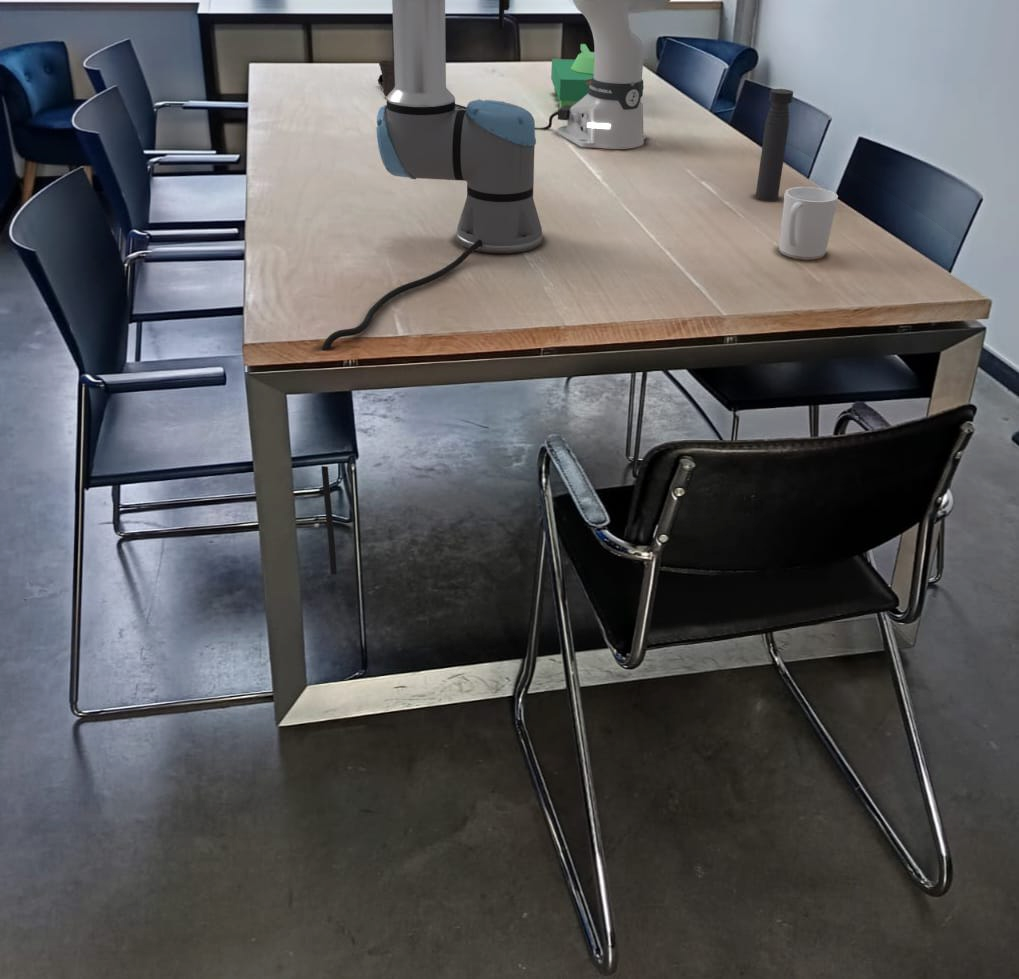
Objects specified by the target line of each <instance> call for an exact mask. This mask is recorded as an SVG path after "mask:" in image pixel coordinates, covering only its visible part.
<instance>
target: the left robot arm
mask: <svg viewBox="0 0 1019 979" xmlns="http://www.w3.org/2000/svg"><path fill="white" fill-rule="evenodd" d="M391 4H392V5H391V6H392V7H391V8H392V9H391V10H392V34H393V36H392V37H393V39H392V40H393V61H394V68H395V87H394V89H393V90H392V91H391V92H390V93H389V94H388V96H386V104H384V105H383V106H381V107H379V109H378V111H377V115H376V138H377V147H378V151H379V156H380V159H381V162H382V164H383V166H384V168H385V170H386V171H387V172H388V173H389V174H390V175H391V176H393V177H400V178H407V179H408V178H409V179H411V180H417V179H422V180H423V179H426V180H442V181H443V180H445V181H461V182H464V181H465V182H466V192H467V193H466V198H465V202H464V205H463V209H462V211H461V214H460V218H459V220H458V224H457V228H456V241H457V243H458V244H459V245H461V246H462V247H464V248H466V250H465V251H463V252H462V254H461V255H459V257H457V258H456V259H455V260H453V261H452V262H451V263H449V264H448V265H446V266H445V267H443V268H442V269H439V270H438V271H436V272H433V273H432V274H430V275H428V276H425V277H422V278H420V279H417V280H414V281H411V282H408V283H405V284H402V285H400V286H398V287H396V288H394V289H392V290H391V291H389V292H387V293H386V294H385V295H383V296H382V297H381V298H380V299H379V300H377V301H376V302H375V303H374V304H373V306H372V307H371V308H370V309H369V310H368V311H367V314H366V315H365V317H364V319H363V321H362V322H361V323H359V325H357V326H356V327H352V328H345V329H340V330H336V331H334V332H332V333H331V334H330V335H329V336H328V337H326V339H325V340H324V342H323V344H322V346H321V349H320V350H321V351H323V352H324V351H328V350H330V347H331V346H332V344H333V343H334V342H335V341H336V340H338V339H340V338H344V337H352V336H356V335H358V334H361V333H362V332H363V331H365V330H366V329H367V328H368V327H369V326H370V324H371V322H372V321H373V318H374V316H375V315H376V313H377V312H378V311H380V309H381V308H382V307H383V306H384V305H385V304H387V302H388V301H390V300H392V299H393V298H395V297H396V296H399V295H400V294H402V293H404V292H406V291H409V290H412V289H415V288H418V287H421V286H424V285H426V284H429V283H431V282H433V281H435V280H437V279H439V278H442V277H443V276H445V275H447V274H448V273H450V272H452V271H453V270H454V269H455V268H457V267H458V266H459V265H460V264H462V263H463V262H464V261H465V260H466V259H467V258H468V257H469V256H470V255H471V254H473V253H474V252H479V253H486V254H497V255H499V254H500V255H506V254H507V255H508V254H517V253H524V252H527V251H530V250H533V249H536V248H538V247H539V246H540V245H541V244H542V243H543V229H542V224H541V221H540V220H541V219H540V218H539V214H538V213H539V212H538V210H537V206H536V204H535V199H534V183H535V181H534V180H535V148H536V147H535V146H536V144H537V139H536V129H535V128H536V123H535V118H534V116H533V114H532V113H530V112H529V111H528V110H527V109H525V108H524V107H522V106H519V105H517V104H514V103H510V102H505V101H499V100H492V99H485V100H483V99H476V100H471V101H469V102H468V104H467V106H465V107H466V110H465V109H457V108H456V107H455V104H456V97H455V95H454V94H453V93H452V92H451V91H450V90H449V89H448V87H447V64H446V63H447V61H446V60H447V57H446V56H447V54H446V53H447V49H446V44H447V43H446V42H447V41H446V0H391ZM510 7H511V0H498V29H502V30H503V28H505V11H509V10H510ZM321 479H322V489H323V500H324V510H325V520H326V521H325V522H326V532H327V542H328V554H329V567H330V569H329V570H330V575H332V576H334V575H337V573H338V572H337V570H338V569H337V555H336V544H335V543H336V542H335V530H334V518H333V508H332V500H331V498H332V497H331V488H330V477H329V466H326V465H321Z"/></svg>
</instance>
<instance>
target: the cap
mask: <svg viewBox="0 0 1019 979" xmlns="http://www.w3.org/2000/svg"><path fill="white" fill-rule="evenodd" d="M768 98H769V99H768V100H769V102H770V103H772V102H774V103H782V104H786V103H789V104H791V103H792V102H793V98H794V91H793V90H790V89H787V88H773V89H770V92H769V97H768Z"/></svg>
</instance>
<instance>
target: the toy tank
mask: <svg viewBox="0 0 1019 979" xmlns="http://www.w3.org/2000/svg"><path fill="white" fill-rule="evenodd" d="M579 48H580V51H581V52H580V53H579V54H577V56H576V58H575V59H572V58H571V59H569V58H568V59H567V58H566V59H565V58H564V59H563V58H552V59H551V72H550V80H551V82H552V85H553V89H554V91H553V92H554V95H557V100H558V104H559V109H560V108H562V107H564V106H566V105H568V106H573V105H575V104H576V103H577V102H578V101H580V100H581V99H582V98H583V97H584V96H586V95H587V94H588V93H587V92H588V89H589V86H590V84H589V85H586V83H588V82H591V81H586V80H587V79H592V78H593V77H594V51H590V49H589V48H588V45H587V44H586V43H580V47H579Z"/></svg>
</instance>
